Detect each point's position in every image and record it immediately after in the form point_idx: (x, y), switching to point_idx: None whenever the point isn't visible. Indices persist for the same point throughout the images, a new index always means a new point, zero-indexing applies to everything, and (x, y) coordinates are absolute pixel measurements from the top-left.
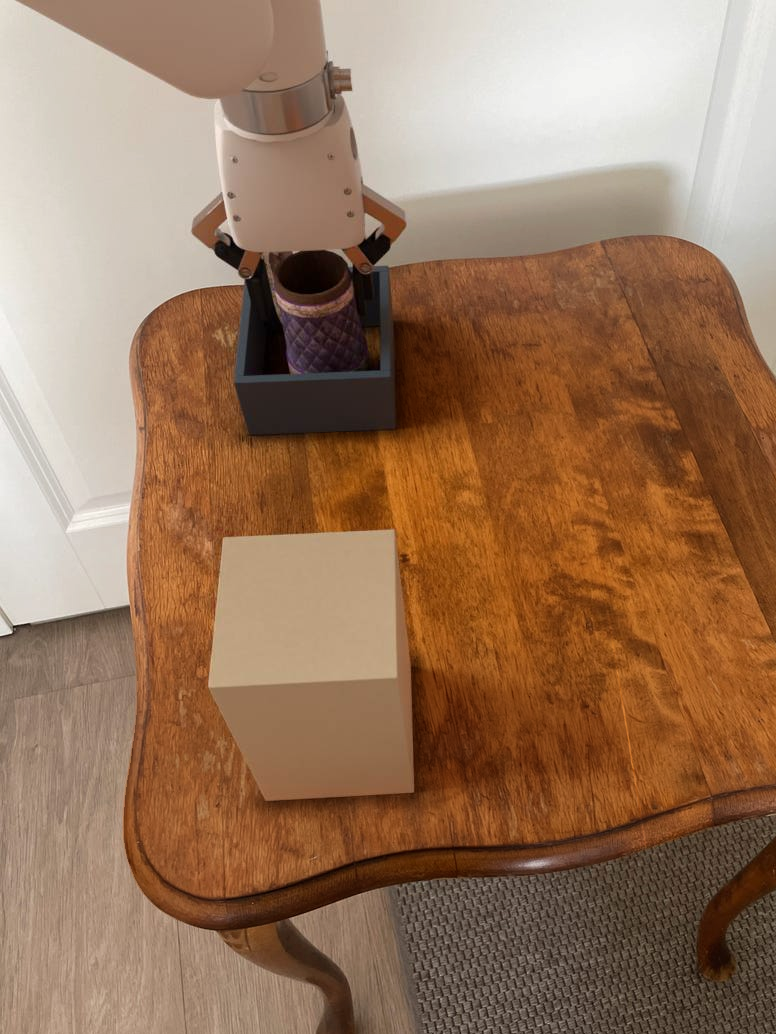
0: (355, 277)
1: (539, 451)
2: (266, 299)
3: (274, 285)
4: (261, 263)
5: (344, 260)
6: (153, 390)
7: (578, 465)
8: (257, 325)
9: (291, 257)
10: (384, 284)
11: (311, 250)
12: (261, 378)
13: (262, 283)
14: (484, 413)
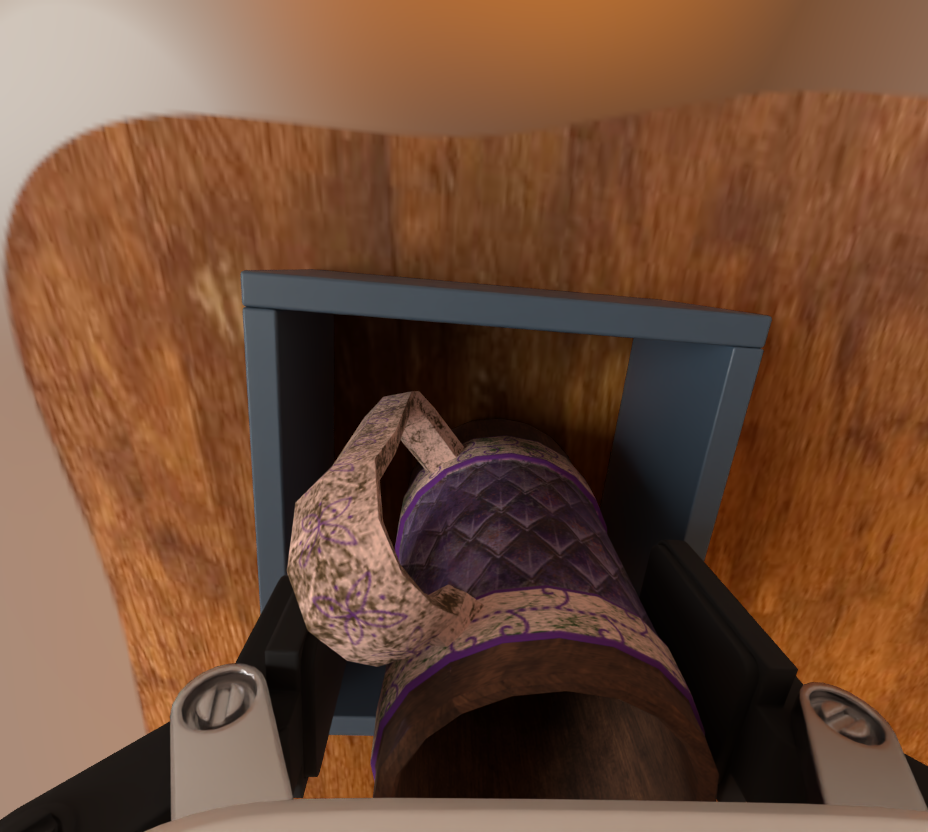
0: (720, 801)
1: (822, 674)
2: (339, 678)
3: (373, 774)
4: (306, 691)
5: (711, 764)
6: (83, 465)
7: (868, 702)
8: (310, 412)
9: (458, 713)
10: (731, 415)
11: (566, 690)
12: (338, 729)
13: (320, 763)
14: (765, 591)
